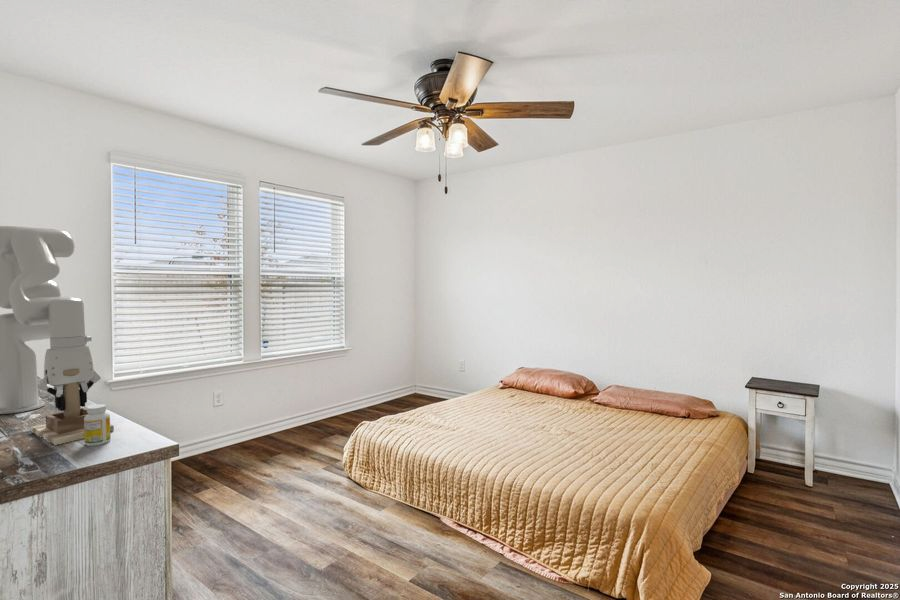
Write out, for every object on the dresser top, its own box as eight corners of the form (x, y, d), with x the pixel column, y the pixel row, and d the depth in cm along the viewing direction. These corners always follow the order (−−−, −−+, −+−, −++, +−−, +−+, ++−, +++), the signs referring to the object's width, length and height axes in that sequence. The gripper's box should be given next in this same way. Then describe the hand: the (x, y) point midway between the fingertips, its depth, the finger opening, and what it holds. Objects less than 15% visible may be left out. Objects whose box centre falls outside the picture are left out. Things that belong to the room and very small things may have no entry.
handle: (61, 426, 123) (58, 371, 123) (61, 420, 128) (58, 367, 127) (83, 422, 127) (81, 369, 126) (83, 417, 131) (80, 365, 131)
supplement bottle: (93, 447, 116) (91, 410, 115) (80, 444, 118) (78, 408, 117) (115, 440, 121) (113, 404, 120) (102, 437, 123) (100, 402, 122)
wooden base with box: (32, 432, 127) (31, 414, 127) (88, 419, 138) (88, 403, 138) (54, 445, 117) (53, 426, 117) (113, 430, 128) (113, 413, 128)
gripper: (98, 338, 135) (101, 399, 136) (23, 345, 121) (27, 413, 122) (109, 340, 131) (112, 403, 132) (32, 348, 117) (36, 418, 118)
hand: (71, 407), depth 127 cm, fingers closed on handle, 3 cm apart
